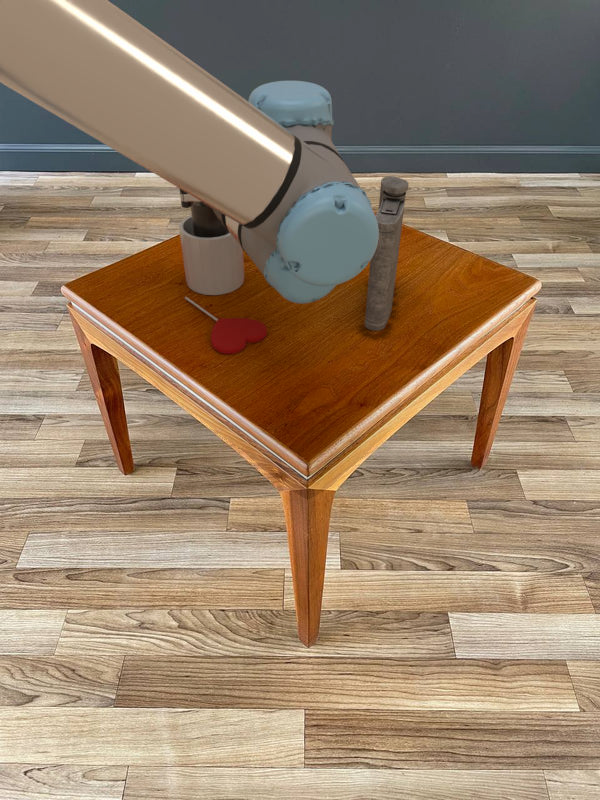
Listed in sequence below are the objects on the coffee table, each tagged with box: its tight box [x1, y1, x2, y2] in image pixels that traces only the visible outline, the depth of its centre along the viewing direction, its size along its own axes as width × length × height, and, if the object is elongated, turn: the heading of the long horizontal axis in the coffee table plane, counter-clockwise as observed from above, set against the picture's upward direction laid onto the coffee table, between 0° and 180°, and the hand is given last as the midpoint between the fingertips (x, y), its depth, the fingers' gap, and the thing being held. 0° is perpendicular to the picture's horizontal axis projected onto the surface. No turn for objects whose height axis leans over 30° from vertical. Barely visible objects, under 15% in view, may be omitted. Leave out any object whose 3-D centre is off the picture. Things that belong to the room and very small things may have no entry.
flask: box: [364, 175, 409, 332], centre depth 86 cm, size 4×14×18 cm, turn 170°
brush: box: [190, 202, 227, 238], centre depth 85 cm, size 5×5×20 cm
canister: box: [178, 214, 246, 296], centre depth 94 cm, size 9×9×9 cm
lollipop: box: [184, 296, 268, 355], centre depth 88 cm, size 8×1×15 cm
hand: (190, 141), depth 88 cm, fingers closed on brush, 2 cm apart
